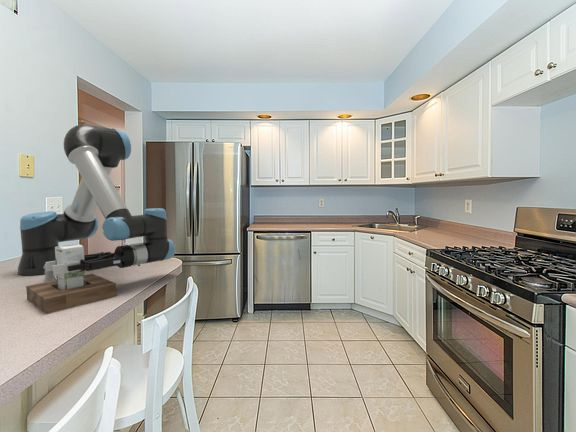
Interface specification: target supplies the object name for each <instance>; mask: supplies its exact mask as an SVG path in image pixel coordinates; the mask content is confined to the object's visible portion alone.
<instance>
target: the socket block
mask: <svg viewBox="0 0 576 432" xmlns="http://www.w3.org/2000/svg"><path fill="white" fill-rule="evenodd" d="M25 288H26V289H25V290H26V300H27V301H29V302H30V303H31V304H33V305H34V306H35V307H36V308H38V309H39V310H40V311H42V312H43V313H44V314H45V315H46V314H50V313H54V312H57V311H61V310H65V309H69V308H75V307H78V306H81V305H85V304H89V303H94V302H98V301H102V300H104V299H111V298H113V297H117V283H116V282H114V281H113V280H112V281H111V280H109V279H106V278H104V277H103V276H99V275H98V274H97V275H96V274H95V273H88V274H85V286H80V287H76V288H71V289H66V290H61V291H59V290H58V289H57V279H56V280H55V281H50V282H45V283H43V282H41V283H40V282H39V283H35V284H30V285H26V286H25Z"/></svg>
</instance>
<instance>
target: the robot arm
mask: <svg viewBox="0 0 576 432" xmlns="http://www.w3.org/2000/svg"><path fill="white" fill-rule="evenodd" d="M63 150H64V154H65V155H66V158H67V160H68V161H69V163H71V164H72V165H75V167H76V169H77V170H78V173H79V174H80V176H81V179H80V181H79V184H78V186H77V190H76V192H75V194H74V197H73V200H72V202H71V204H70V205H67V206H66V207H65V209H64V210H63V213H60V214H58V213H57V211H54V210H53V211H52V210H51V211H50V210H49V211H41V212H34V213H33V212H32V213H29V214H25V215H22V216H21V218H20V221H19V222H20V225H19V230H20V238H21V239H20V241H21V253H22V254H21V257H20V259H19V262H18V266H17V274H18V275H20V276H38V275H39V276H40V275H45V269H44V268H43V267H44V264H46V271H53V275H55V276H57V275H59V274H64V273H70V272H76V271H80V269H81V271H84V270H85V272H91V271H95V270H101V269H106V268H111V267H118V268H119V269H125V268H129V267H132V266H137V267H141V266H142V265H144V264H145V265H146V264H149V263H150V264H151V263H154V262H162V261H166V260H170V259H172V258H173V257H174V256H175V254H176V253H175V252H176V247H175V243H174V242H173V240H172V239H170V238H168V231H167V230H168V228H167V226H168V225H167V222H168V218H167V211H166V209H165V208H161V207H160V208H159V207H157V208H146V209H143V214H138V215H132V214H131V212H130V210H129V208H128V207H127V205H126V204H125V202H124V199H123V198H122V196H121V195H120V193H119V191H118V190H117V188H116V186H115V184H114V182H113V180H112V179H111V177H110V175H111V172H112V170H113V169H116V168H118V166H119V164H120V162H121V161H124V160H128V159H129V158H130V156H131V154H132V144H131V140H130V138H129V135H128V134H126V132H125V131H122V130H119V129H116V128H109V127H105V126H104V127H103V126H98V125H92V124H87V123H83V124H77V125H74V126H73V127H71V128H70V129H69V130H68V131H67V133H65V137H64V140H63ZM96 207H98V209H99V210H100V212H101V214H102V217H104V219H105V220H103V223H102V227H101V228H102V231H103V232H102V233H103V235H104V237H105V238H106V239H107V240H108V241H114V242H115V241H126V240H131V239H135V238H143V237H144V240H145V242H137V243H131V244H124V245H118V246H117V247H116V248H114V252H112V251H107V252H104V251H101V252H98V253H90V254H84V260H80V262H81V264H80V262H79V261H78V262H72V263H66V264H59V265H56V258H55V247H57V246H60V245H59V243H63V242H71V241H78V240H79V241H80V240H85V239H90V238H91V237H93V236H94V235H95V234H96V233H97V231H98V229H99V224H98V223H99V220H98V217H97V214H96V212H95V210H96Z"/></svg>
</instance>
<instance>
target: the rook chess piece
mask: <svg viewBox="0 0 576 432" xmlns="http://www.w3.org/2000/svg"><path fill="white" fill-rule="evenodd" d="M43 268H44V269H45V274H44V280H43V282H42V283H45V282H50V281H55V280H57V278H56V275H53V271H46V264H44V267H43Z"/></svg>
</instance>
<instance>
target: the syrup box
mask: <svg viewBox="0 0 576 432" xmlns="http://www.w3.org/2000/svg"><path fill="white" fill-rule="evenodd" d="M84 255H85V248H84V245H82V244H78V243H74V244H67V245H59V246H57V247H55V258H56V265H59V264H66V263H72V262H78V261H79V262H80V260H84ZM80 264H81V262H80ZM85 275H86V270H84V271H81V269H80V271H76V272H70V273H64V274H59V275H56V280H57V289H58V290H59V291H61V290H66V289H71V288H76V287H80V286H85Z"/></svg>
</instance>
